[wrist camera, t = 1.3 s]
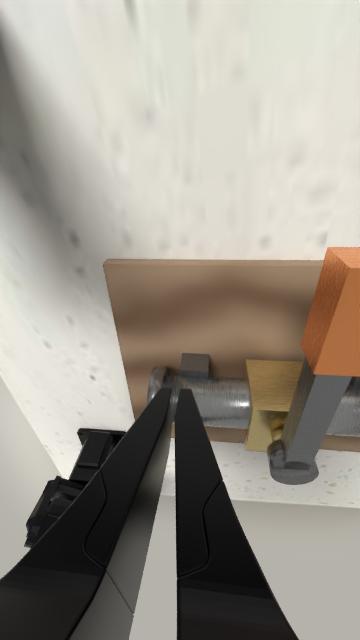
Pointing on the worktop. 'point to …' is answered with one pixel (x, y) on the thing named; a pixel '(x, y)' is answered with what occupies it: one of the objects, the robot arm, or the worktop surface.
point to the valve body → (251, 398)
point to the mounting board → (211, 320)
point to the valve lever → (321, 367)
